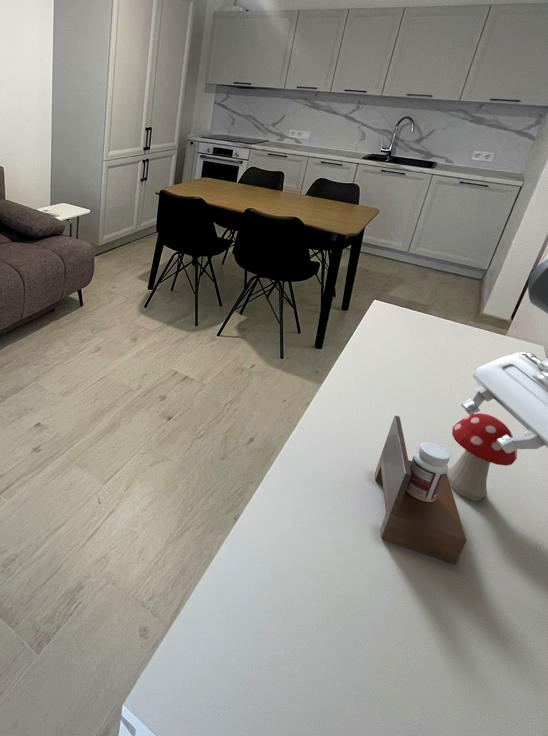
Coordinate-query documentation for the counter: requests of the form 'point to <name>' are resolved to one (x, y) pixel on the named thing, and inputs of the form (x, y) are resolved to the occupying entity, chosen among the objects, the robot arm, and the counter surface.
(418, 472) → the pill bottle
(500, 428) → the decorative mushroom
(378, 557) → the counter surface
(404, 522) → the wooden display stand
